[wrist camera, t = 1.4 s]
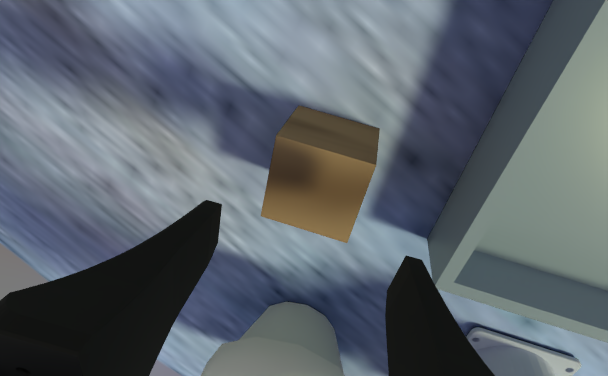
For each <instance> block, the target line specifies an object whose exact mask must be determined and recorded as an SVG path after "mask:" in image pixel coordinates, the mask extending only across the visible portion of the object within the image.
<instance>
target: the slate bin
mask: <svg viewBox="0 0 608 376" xmlns="http://www.w3.org/2000/svg"><path fill="white" fill-rule="evenodd" d="M427 241H428V249H429V256H430V264H431V271H432V279H433V282H434V284H435V286H436V288H437V289H439V290H442V291H446V292H449V293H452V294H455V295H458V296H461V297H465V298H468V299H471V300H474V301H477V302H480V303H484V304H487V305H490V306H493V307H496V308H499V309H502V310H506V311H509V312H512V313H515V314H518V315H521V316H525V317H528V318H531V319H534V320H537V321H540V322H544V323H547V324H550V325H553V326H556V327H559V328H563V329H566V330H569V331H572V332H575V333H578V334H582V335H585V336H588V337H591V338H594V339H597V340H601V341H604V342H607V343H608V0H553V2H552V4H551V6H550V8H549V10H548V12H547V14H546V16H545V17H544V19H543V21H542V23H541V25H540V27H539V29H538V31H537V33H536V34H535V36H534V38H533V40H532V42H531V44H530V46H529V48H528V50H527V52H526V53H525V55H524V57H523V59H522V61H521V63H520V65H519V67H518V69H517V70H516V72H515V74H514V76H513V78H512V80H511V82H510V84H509V86H508V87H507V89H506V91H505V93H504V95H503V97H502V99H501V101H500V103H499V105H498V106H497V108H496V110H495V112H494V114H493V116H492V118H491V120H490V122H489V123H488V125H487V127H486V129H485V131H484V133H483V135H482V137H481V139H480V141H479V142H478V144H477V146H476V148H475V150H474V152H473V154H472V156H471V158H470V159H469V161H468V163H467V165H466V167H465V169H464V171H463V173H462V175H461V176H460V178H459V180H458V182H457V184H456V186H455V188H454V190H453V192H452V194H451V195H450V197H449V199H448V201H447V203H446V205H445V207H444V209H443V211H442V212H441V214H440V216H439V218H438V220H437V222H436V224H435V226H434V228H433V230H432V231H431V233H430V235H429V237H428V239H427Z"/></svg>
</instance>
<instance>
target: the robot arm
mask: <svg viewBox="0 0 608 376" xmlns="http://www.w3.org/2000/svg"><path fill="white" fill-rule="evenodd" d="M221 207H222V204H219V203H216V202H212V201H208V200H205V201H203V202H202V203H201V204H199V205H198V206H197V207H195V208H194V209H193V210H191V211H190V212H189V213H187V214H186V215H185V216H183V217H182V218H180V219H179V220H177V221H176V222H174V223H173V224H171V225H170V226H169V227H167V228H166V229H164V230H162V231H161V232H159V233H158V234H156V235H154V236H153V237H151V238H149V239H148V240H146V241H144V242H143V243H141V244H139V245H137V246H135V247H134V248H132V249H130V250H128V251H126V252H124V253H122V254H120V255H118V256H116V257H114V258H111V259H109V260H107V261H105V262H102V263H100V264H97V265H95V266H93V267H90V268H88V269H85V270H83V271H80V272H77V273H74V274H72V275H69V276H66V277H63V278H60V279H57V280H54V281H50V282H47V283H44V284H40V285H37V286H33V287H29V288H26V289H23V290H19V291H15V292H11V293H9V294H8V295H6V296H5V297H4V298H3V299H2V300H0V376H149V375H150V372H151V370H152V368H153V366H154V363H155V361H156V359H157V357H158V355H159V353H160V350H161V348H162V346H163V344H164V342H165V340H166V338H167V336H168V334H169V332H170V329H171V327H172V325H173V323H174V321H175V320H176V318H177V316H178V314H179V312H180V311H181V309H182V307H183V306H184V304H185V302H186V301H187V299H188V298H189V296H190V294H191V293H192V291H193V289H194V288H195V286H196V284H197V283H198V281H199V279H200V278H201V276H202V274H203V273H204V271H205V269H206V268H207V266H208V264H209V262H210V259H211V257H212V255H213V253H214V250H215V248H216V246H217V243H218V236H219V226H220V217H221ZM385 317H386V336H387V352H388V368H389V376H572V375H573V374H574V373H575V372H576V371H577V370H579V369H580V367H581V363H580V361H579V360H578V359H576V358H573V357H570V356H567V355H564V354H561V353H558V352H555V351H552V350H548V349H545V348H542V347H539V346H536V345H533V344H530V343H527V342H524V341H520V340H517V339H514V338H511V337H508V336H505V335H502V334H499V333H496V332H492V331H489V330H486V329H483V328H479V327H476V328H473V329H472V330H471V331H470V332H469V334H468V335H467V336H465V335H464V333H463V332H462V330H461V329H460V327H459V326H458V324H457V323H456V321H455V319H454V318H453V316H452V314H451V313H450V311H449V309H448V308H447V306H446V304H445V302H444V301H443V299H442V297H441V295H440V293H439V292H438V290H437V288H436V286H435V284H434V282H433V280H432V278H431V277H430V275H429V273H428V271H427V269H426V267H425V265H424V263H423V261H422V260H420V259H417V258H413V257H409V256H405V258H404V260H403V262H402V264H401V266H400V268H399V269H398V271H397V273H396V275H395V277H394V279H393V281H392V282H391V284H390V286H389V288H388V290H387V299H386V315H385ZM475 337H476V338H475Z"/></svg>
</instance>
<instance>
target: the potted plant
mask: <svg viewBox="0 0 608 376" xmlns="http://www.w3.org/2000/svg"><path fill="white" fill-rule="evenodd" d="M201 376H345V375H344V373H343V368H342V363H341V358H340V354H339V349H338V344H337V340H336V335H335V330H334V328H333V327H332V325H331V324H330V322H329V321H328V319H327V318H326V317H325V315H323V314H321V313H320V312H318V311H316V310H315V309H313V308H311V307H310V306H308V305H304V304H298V303H292V302H283V303H279V304H275V305H271V306H269V307H268V308H267V309H266V310H265V312H264V313H263V314H262V315H261V316H260V317H259V318H258V319H257V320H256V321H255V323H254V324H253V325H252V326H251V327H250V328H249V329H248V330H247V331H246V332H245V334H244V335H243V336H242V337H241V338H240V339H239V340H238V341H233V342H228V343H224V344H222V345H221V346H220V347H219V348H218V350H217V351H216V352H215V353H214V355H213V356H212V357H211V358H210V360H209V361H208V362H207V364H206V366H205V368H204V370H203V372H202V374H201Z"/></svg>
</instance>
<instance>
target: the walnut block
mask: <svg viewBox="0 0 608 376" xmlns="http://www.w3.org/2000/svg"><path fill="white" fill-rule="evenodd" d="M378 140H379V128H375V127H372V126H369V125H365V124H362V123H358V122H355V121H351V120H348V119H344V118H341V117H337V116H334V115H330V114H327V113H323V112H320V111H317V110H313V109H310V108H306V107H303V106H298V107H297V108H296V110H295V111H294V112H293V114H292V115H291V116H290V118H289V119H288V120H287V122H286V123H285V124H284V126H283V127H282V128H281V130H280V131H279V132H278V134H277V135H276V139H275V144H274V149H273V154H272V160H271V165H270V170H269V175H268V181H267V186H266V191H265V196H264V202H263V207H262V212H261V216H262V217H265V218H269V219H272V220H275V221H278V222H281V223H284V224H288V225H291V226H294V227H297V228H300V229H304V230H307V231H310V232H313V233H316V234H320V235H323V236H326V237H329V238H332V239H336V240H339V241H342V242H345V243H347V242H348V239H349V237H350V234H351V231H352V229H353V226H354V223H355V220H356V218H357V215H358V212H359V210H360V207H361V204H362V202H363V199H364V196H365V194H366V191H367V188H368V186H369V183H370V180H371V178H372V175H373V172H374V169H375V167H376V161H377V151H378Z"/></svg>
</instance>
